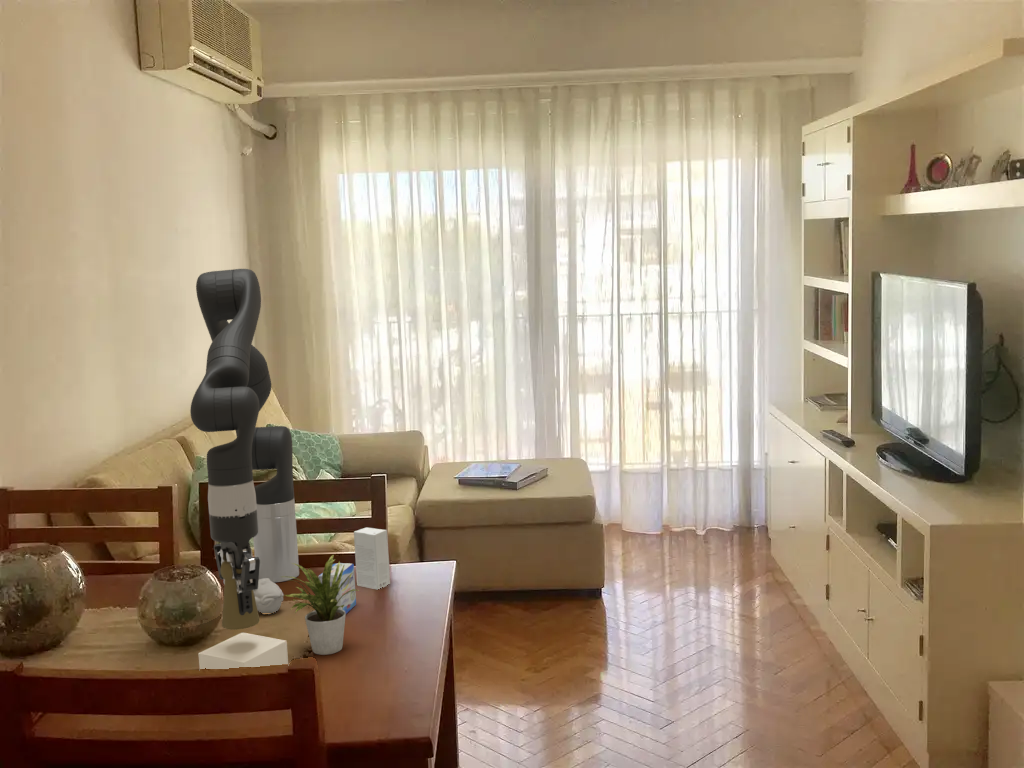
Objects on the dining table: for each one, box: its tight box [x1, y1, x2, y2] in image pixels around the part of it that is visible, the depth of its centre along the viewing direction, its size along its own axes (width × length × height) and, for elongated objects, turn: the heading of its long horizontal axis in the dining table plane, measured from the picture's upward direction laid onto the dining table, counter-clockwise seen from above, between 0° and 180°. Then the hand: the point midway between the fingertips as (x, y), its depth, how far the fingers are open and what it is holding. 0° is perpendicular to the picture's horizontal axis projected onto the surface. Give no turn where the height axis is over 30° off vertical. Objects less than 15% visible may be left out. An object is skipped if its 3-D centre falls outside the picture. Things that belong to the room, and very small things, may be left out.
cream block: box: [197, 631, 289, 670], centre depth 158 cm, size 10×10×5 cm
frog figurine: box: [253, 578, 285, 614], centre depth 186 cm, size 6×7×7 cm
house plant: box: [283, 554, 360, 656], centre depth 168 cm, size 14×14×16 cm
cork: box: [220, 560, 260, 631], centre depth 157 cm, size 6×6×11 cm
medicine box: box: [317, 562, 357, 615], centre depth 186 cm, size 8×4×9 cm, turn 168°
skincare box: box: [353, 527, 391, 591], centre depth 201 cm, size 6×4×12 cm
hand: (240, 609), depth 157 cm, fingers closed on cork, 4 cm apart
